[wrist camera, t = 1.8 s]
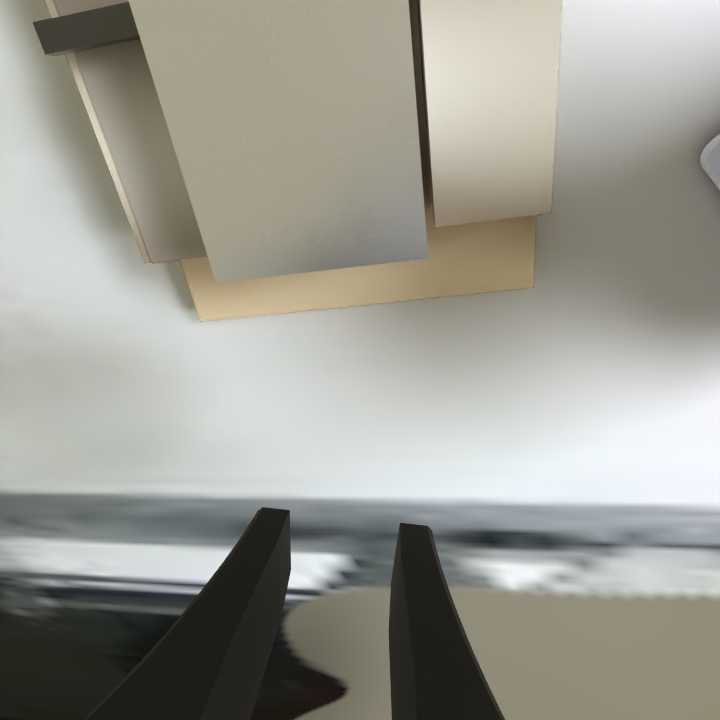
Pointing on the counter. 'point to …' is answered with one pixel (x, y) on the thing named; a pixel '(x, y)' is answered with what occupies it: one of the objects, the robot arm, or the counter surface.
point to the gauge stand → (437, 151)
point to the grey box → (281, 124)
